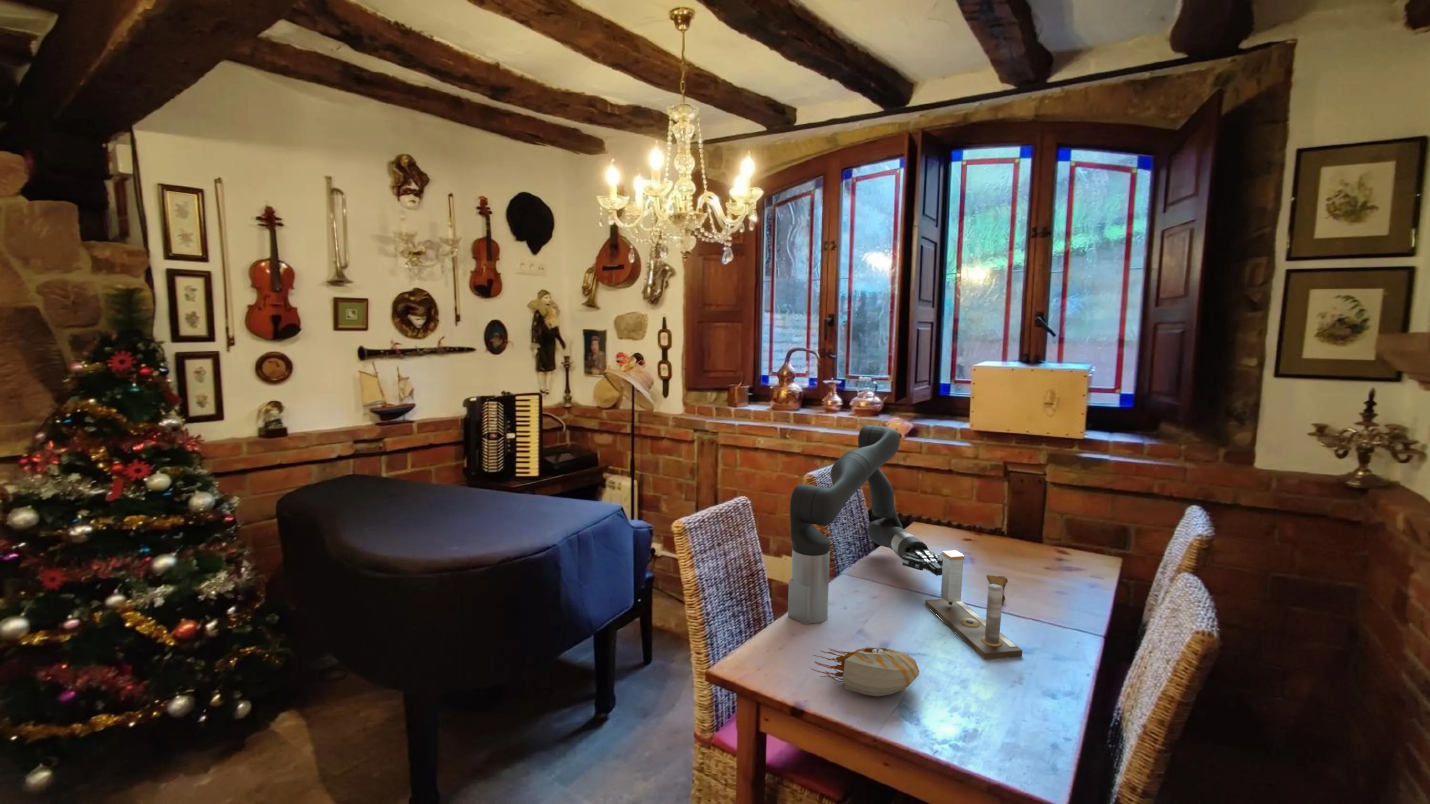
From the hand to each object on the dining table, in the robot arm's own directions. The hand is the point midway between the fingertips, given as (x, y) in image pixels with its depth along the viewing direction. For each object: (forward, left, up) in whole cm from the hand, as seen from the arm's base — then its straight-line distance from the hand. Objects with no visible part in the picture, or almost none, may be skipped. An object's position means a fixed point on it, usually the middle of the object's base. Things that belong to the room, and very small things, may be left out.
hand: (939, 572), depth 168 cm
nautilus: (-46, -11, -8) cm, 49 cm away
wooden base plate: (-8, -13, -8) cm, 17 cm away
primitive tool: (+20, -6, -9) cm, 23 cm away
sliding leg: (-3, -5, -6) cm, 9 cm away
